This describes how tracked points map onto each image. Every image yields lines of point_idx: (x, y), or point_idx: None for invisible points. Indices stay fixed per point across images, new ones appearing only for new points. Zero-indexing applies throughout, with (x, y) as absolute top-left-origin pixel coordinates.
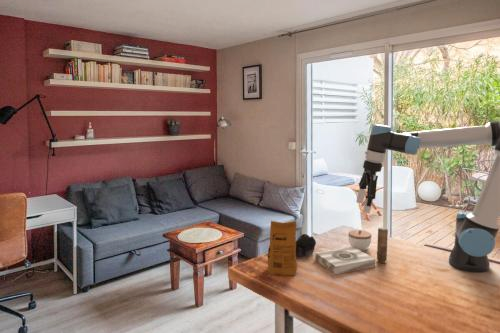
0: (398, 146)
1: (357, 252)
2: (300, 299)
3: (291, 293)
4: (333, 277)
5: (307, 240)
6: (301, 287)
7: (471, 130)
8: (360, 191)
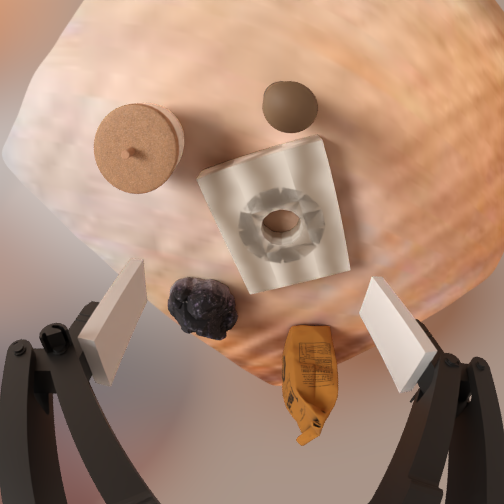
0: None
1: (256, 179)
2: None
3: None
4: (359, 264)
5: (207, 319)
6: None
7: None
8: (114, 359)
